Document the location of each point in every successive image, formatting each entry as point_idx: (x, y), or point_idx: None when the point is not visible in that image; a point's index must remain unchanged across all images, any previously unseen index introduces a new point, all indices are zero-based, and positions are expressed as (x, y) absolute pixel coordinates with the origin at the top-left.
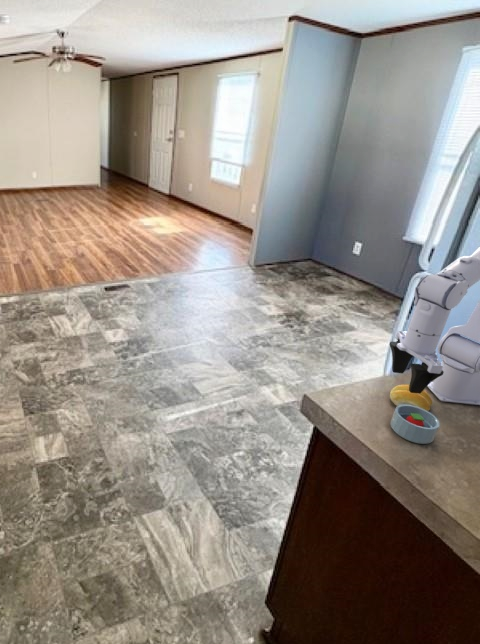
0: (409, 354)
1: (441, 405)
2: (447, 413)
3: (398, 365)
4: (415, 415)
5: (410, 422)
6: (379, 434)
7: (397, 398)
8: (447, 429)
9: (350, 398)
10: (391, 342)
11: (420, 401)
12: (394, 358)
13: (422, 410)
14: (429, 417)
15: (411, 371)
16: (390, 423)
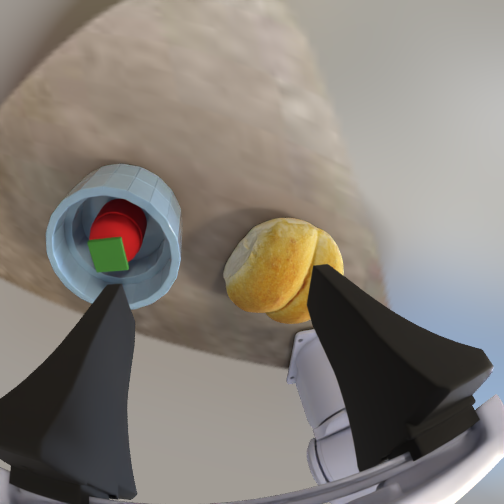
0: (357, 412)
1: (281, 328)
2: (249, 330)
3: (332, 313)
4: (109, 252)
5: (95, 225)
6: (81, 117)
7: (271, 235)
8: (177, 311)
9: (285, 76)
10: (485, 375)
11: (245, 296)
12: (367, 322)
13: (160, 286)
14: (141, 292)
15: (67, 390)
16: (134, 166)
